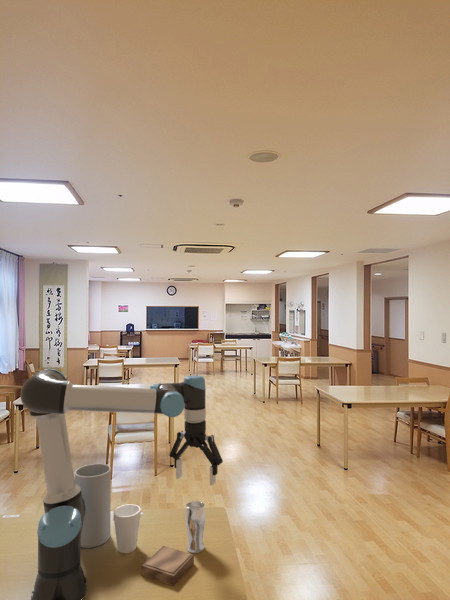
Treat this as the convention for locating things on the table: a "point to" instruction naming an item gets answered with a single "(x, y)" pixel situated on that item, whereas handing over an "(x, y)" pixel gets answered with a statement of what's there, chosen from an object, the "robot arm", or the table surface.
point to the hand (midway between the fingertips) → (195, 480)
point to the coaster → (168, 565)
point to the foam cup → (127, 527)
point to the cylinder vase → (95, 503)
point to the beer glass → (195, 525)
